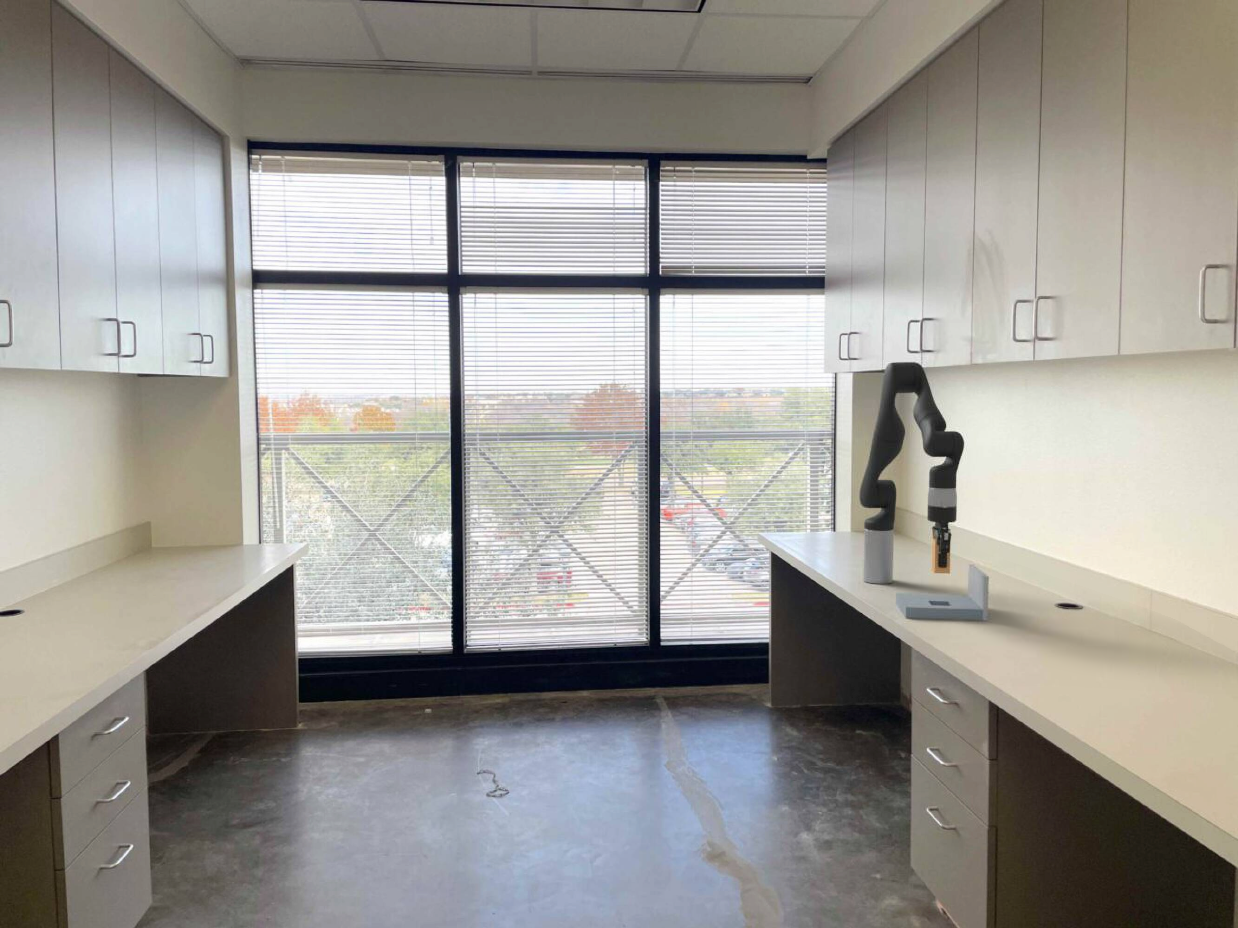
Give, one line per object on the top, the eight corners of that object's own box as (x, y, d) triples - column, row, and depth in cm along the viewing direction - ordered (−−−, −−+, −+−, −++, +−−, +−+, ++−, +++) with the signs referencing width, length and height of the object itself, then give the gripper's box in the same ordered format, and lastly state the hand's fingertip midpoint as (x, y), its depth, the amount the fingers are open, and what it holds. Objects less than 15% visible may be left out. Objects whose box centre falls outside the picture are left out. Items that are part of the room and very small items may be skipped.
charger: (931, 570, 254) (932, 537, 254) (946, 570, 254) (947, 538, 253) (934, 573, 251) (935, 540, 250) (949, 573, 250) (950, 540, 249)
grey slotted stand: (895, 603, 266) (896, 562, 266) (971, 605, 263) (973, 564, 262) (905, 617, 249) (906, 574, 248) (987, 620, 246) (988, 576, 245)
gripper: (923, 500, 258) (922, 561, 260) (932, 506, 244) (931, 570, 246) (951, 501, 257) (949, 561, 259) (962, 507, 243) (960, 571, 245)
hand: (940, 565), depth 252 cm, fingers closed on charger, 4 cm apart
